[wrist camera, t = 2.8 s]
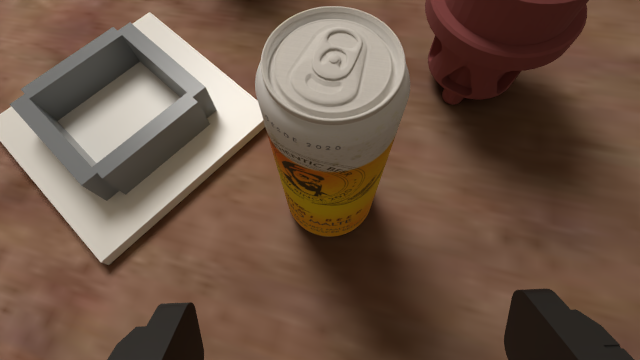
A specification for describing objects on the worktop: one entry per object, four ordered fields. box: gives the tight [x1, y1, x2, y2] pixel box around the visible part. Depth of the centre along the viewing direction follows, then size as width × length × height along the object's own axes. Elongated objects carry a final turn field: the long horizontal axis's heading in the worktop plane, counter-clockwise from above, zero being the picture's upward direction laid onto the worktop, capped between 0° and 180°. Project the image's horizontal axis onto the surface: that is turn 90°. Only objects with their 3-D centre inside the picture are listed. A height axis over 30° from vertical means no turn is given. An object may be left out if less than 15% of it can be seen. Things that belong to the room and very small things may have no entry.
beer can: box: [255, 6, 410, 237], centre depth 20 cm, size 6×6×15 cm
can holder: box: [0, 12, 265, 265], centre depth 28 cm, size 16×16×4 cm
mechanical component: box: [425, 0, 589, 105], centre depth 26 cm, size 12×10×10 cm
